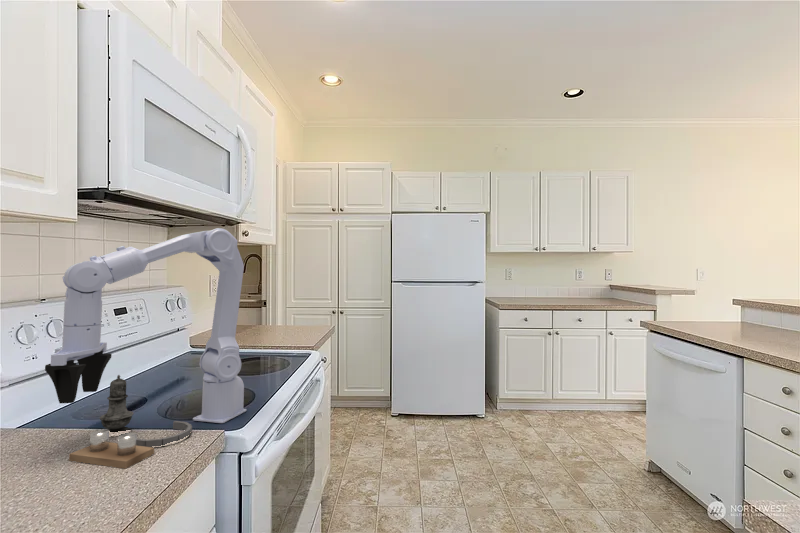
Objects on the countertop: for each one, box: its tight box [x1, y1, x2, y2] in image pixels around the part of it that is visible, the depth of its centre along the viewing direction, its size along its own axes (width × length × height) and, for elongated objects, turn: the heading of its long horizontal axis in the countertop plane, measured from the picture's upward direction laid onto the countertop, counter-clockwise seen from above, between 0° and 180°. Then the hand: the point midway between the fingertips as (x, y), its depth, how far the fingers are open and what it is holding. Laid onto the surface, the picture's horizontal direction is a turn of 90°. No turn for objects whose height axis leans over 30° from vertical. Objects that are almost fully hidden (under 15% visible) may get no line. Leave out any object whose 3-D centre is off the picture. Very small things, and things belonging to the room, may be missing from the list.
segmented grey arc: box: [136, 420, 193, 447], centre depth 83 cm, size 11×7×2 cm, turn 168°
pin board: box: [68, 428, 155, 469], centre depth 73 cm, size 6×12×4 cm, turn 78°
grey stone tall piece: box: [99, 374, 135, 432], centre depth 86 cm, size 6×6×12 cm
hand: (79, 396), depth 77 cm, fingers open, 7 cm apart
